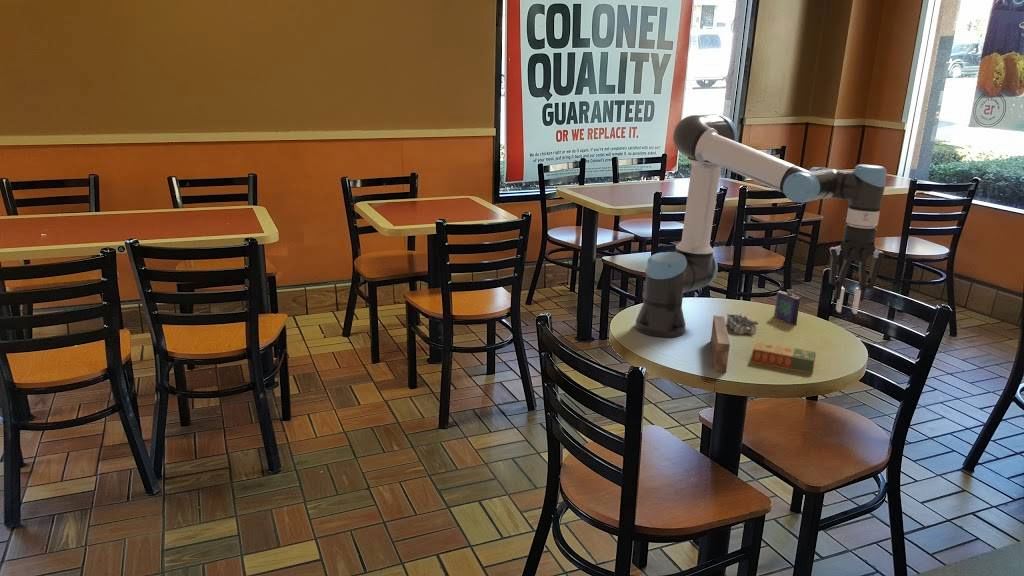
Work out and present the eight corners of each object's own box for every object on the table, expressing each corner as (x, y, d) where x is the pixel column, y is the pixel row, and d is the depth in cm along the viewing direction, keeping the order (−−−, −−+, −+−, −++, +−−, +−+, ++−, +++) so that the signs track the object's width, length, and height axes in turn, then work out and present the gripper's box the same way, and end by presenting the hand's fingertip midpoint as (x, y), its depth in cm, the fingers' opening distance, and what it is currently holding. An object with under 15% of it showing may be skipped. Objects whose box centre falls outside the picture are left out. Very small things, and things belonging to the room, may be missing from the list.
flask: (771, 316, 244) (776, 285, 241) (778, 315, 245) (783, 285, 242) (792, 325, 236) (797, 293, 233) (799, 324, 237) (804, 293, 234)
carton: (754, 354, 211) (756, 340, 210) (814, 365, 205) (816, 350, 204) (750, 363, 204) (752, 348, 203) (812, 375, 198) (814, 360, 196)
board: (714, 371, 197) (718, 343, 194) (710, 341, 219) (713, 315, 217) (726, 372, 196) (729, 344, 194) (720, 342, 219) (724, 316, 216)
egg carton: (757, 335, 226) (759, 323, 225) (733, 334, 226) (735, 322, 225) (747, 324, 237) (749, 312, 235) (724, 323, 237) (725, 311, 235)
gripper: (830, 225, 188) (816, 312, 195) (899, 230, 185) (882, 319, 192) (825, 220, 195) (811, 304, 202) (891, 225, 192) (875, 310, 199)
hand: (846, 311), depth 197 cm, fingers open, 3 cm apart
